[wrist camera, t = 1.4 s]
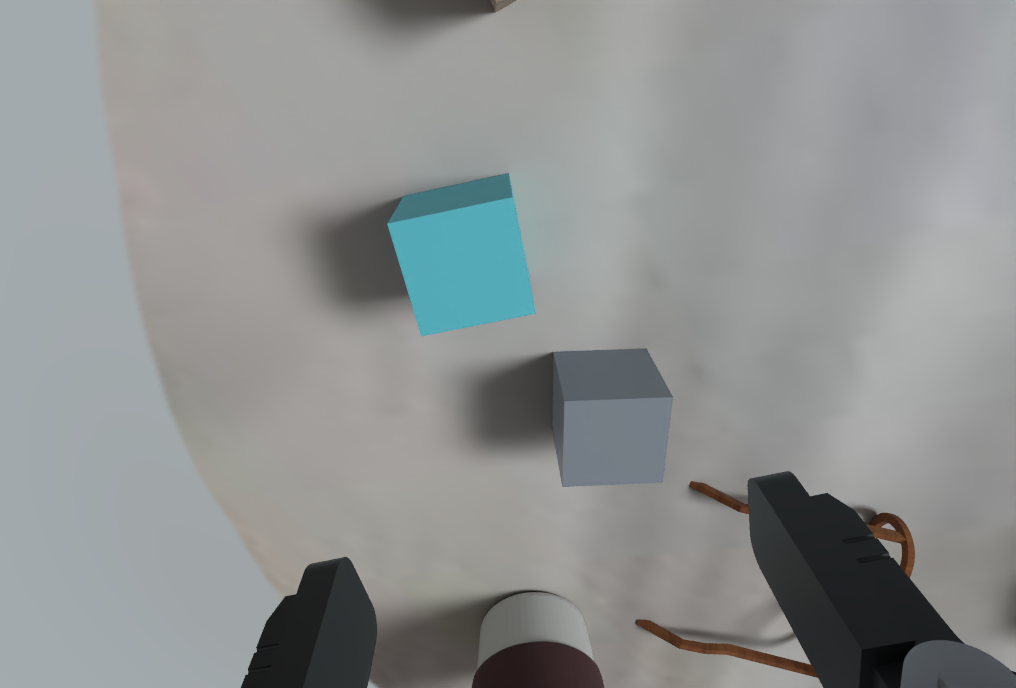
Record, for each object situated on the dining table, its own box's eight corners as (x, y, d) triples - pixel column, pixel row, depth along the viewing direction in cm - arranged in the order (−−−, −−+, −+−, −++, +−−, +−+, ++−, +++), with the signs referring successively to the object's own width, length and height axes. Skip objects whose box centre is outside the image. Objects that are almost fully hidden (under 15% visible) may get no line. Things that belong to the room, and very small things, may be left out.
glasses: (805, 632, 43) (843, 700, 38) (634, 618, 41) (652, 686, 37) (885, 495, 37) (940, 556, 32) (689, 473, 36) (718, 533, 31)
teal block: (404, 195, 27) (387, 223, 23) (508, 172, 27) (512, 197, 22) (431, 293, 29) (421, 336, 25) (528, 273, 29) (535, 313, 25)
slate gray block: (553, 351, 31) (564, 401, 27) (645, 347, 31) (672, 397, 27) (552, 428, 33) (562, 486, 29) (638, 425, 33) (662, 482, 29)
